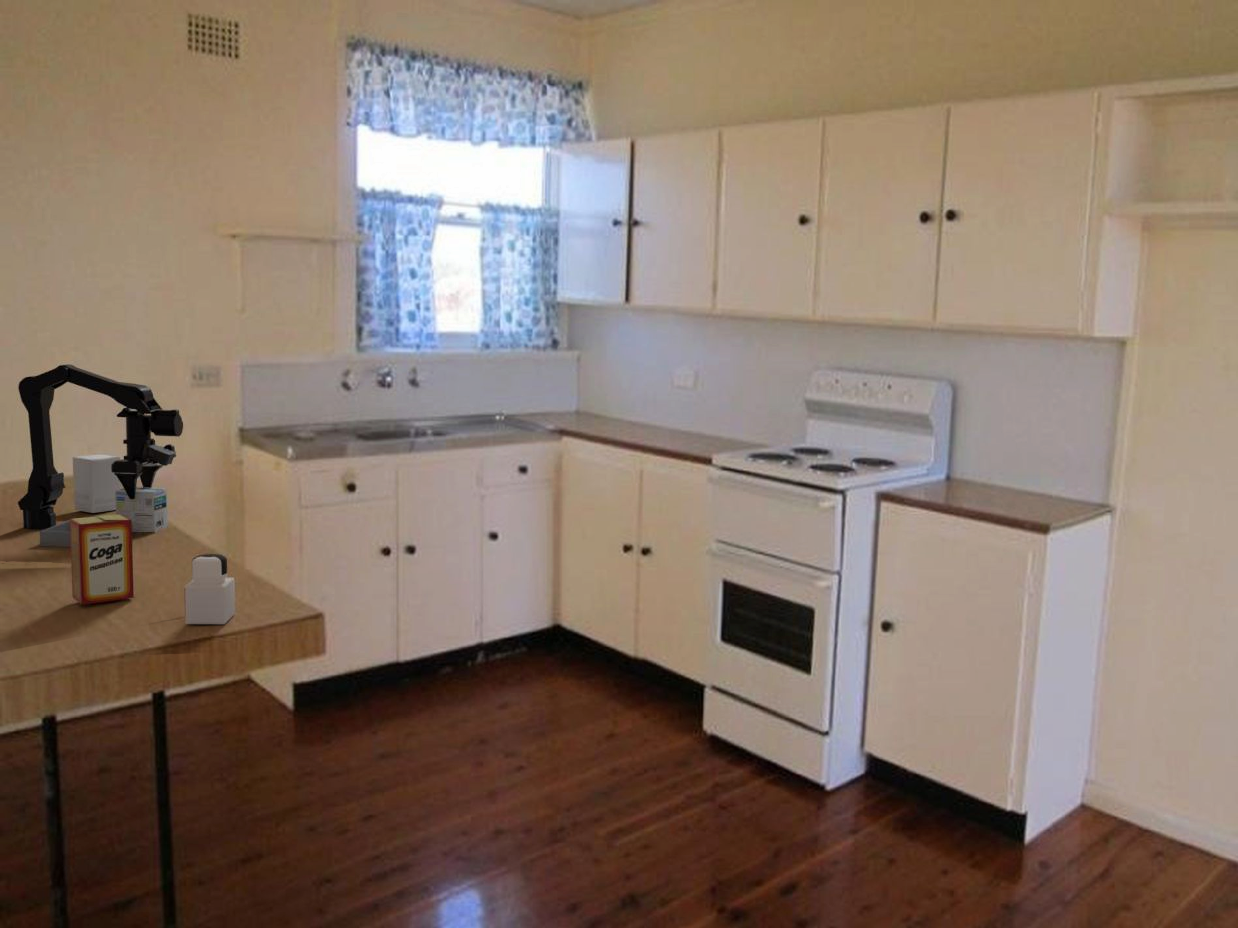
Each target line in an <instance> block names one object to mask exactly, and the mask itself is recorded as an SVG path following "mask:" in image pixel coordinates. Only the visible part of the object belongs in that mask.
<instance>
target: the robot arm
mask: <svg viewBox="0 0 1238 928" xmlns="http://www.w3.org/2000/svg"><path fill="white" fill-rule="evenodd" d="M67 383H69V384H73V385H76V386H79V387H82V388H84V389H87V390H90V391H93V392H96V393H99V394H102V395H104V396H108V397H110V398H111V399H113V400H114V401H115V402H116V403H118V404H120V405H122V406H123V408H122V410H121V411H120V412H119V413H117V414H116V417H117V418H125V435H126V436H125V437H126V438H125V439H123V440H122V441H123V443H122V444H123V445H125V444H126V455H124V456H123V459H120V460H117V461H115V462H114V463H113V464H112V465H111V471H112V472H113V473H114V475H116V476H117V478H118V479H119V481H120V482H121V486H122V487H123V488H124V489H125V491H126V493H127V495H128V497H129V498H130V499H135V494H136V487H137V483H138V479H140V482H141V485H142V487H143V488H153V484H154V481H155V477H156V475H157V472H158V471H159V470H161V469H162V468H163V467H165V466H168V465H172V463H173V461H174V458H176V457H177V454H176V453H177V451H175V450H176V449H175V445H173V444H170V443H168V444H166V445H164V446H163V445H157V444H156V440H155V439H154V438H152V433H153V435H154V436H156V437H174V438H175V437H177V438H179V437H181V436H182V434H183V431H184V422H183V420H182V419H183V418H182V416H181V414H180V409H163V408H162V407H161V405H160V403H158V402H157V399H156V398H155V396H154V394H153V391H152V389H151V388H150V387H149V386H147V385H143V384H138V383H130V382H124V381H123V382H122V381H118V380H115V379H111V378H109V377H106V376H103V375H100V374H97V373H95V372H92V371H91V372H90V371H88V370H85V369H83V368H79V367H76V366H75V365H73V364H69V363H68V364H60V365H58V366H56V367H55V368H52V369H50V370H47V371H45V372H42V373H40V374H38V375H30V376H26V377H23V378H22V379H21V380H20V381H19V382H18V386H17V387H18V388H17V389H18V393H19V397H20V401H21V403H22V405H23V406H24V408H25V410H26V411H27V414H28V417H27V418H28V425H29V436H30V437H29V439H30V449H31V461H32V470H31V472H30V475H29V478H28V484H27V493H25V494H24V495H23V497H21V498H20V499H19V500H18V502H17V505H18V507H19V510H20V511H22V519H23V520H22V524H23V529H27V530H45V529H47V528H50V527H53V526H55V525H57V520H56V518H57V516H56V515H57V514H56V512H55V510H54V506H56V504H57V502H58V499H59V498H60V497H61V496H62V495H63V493H64V489H66V486H65V482H64V478H65V474H64V472H58V470H57V469H56V468H55V464H54V453H53V452H54V451H53V450H54V449H53V442H52V441H53V440H52V439H53V438H52V429H51V428H52V427H51V418H50V415H51V414H50V409H51V407H52V404H53V401H54V398H55V397H54V396H55V390H57V389H58V388H60V387H63V386H64V385H66V384H67Z"/></svg>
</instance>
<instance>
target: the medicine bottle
mask: <svg viewBox="0 0 1238 928" xmlns="http://www.w3.org/2000/svg"><path fill="white" fill-rule="evenodd" d="M191 578H192V580H191V581H190V582H189V583H188V584H186V585H185V586H184V621H185V624H186V625H226V624H227V623H228V622H229V620H230V619H231V618H232V617H233V616H234V615H235V614H236V593H235V592H236V589H235V588H236V587H235V584H236V583H235V578H234V577H228V558H227V557H226V556H224V555H222V554H218V553H205V554H200V555H197V556H195V557H194V558H192V560H191Z"/></svg>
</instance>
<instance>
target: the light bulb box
mask: <svg viewBox="0 0 1238 928" xmlns="http://www.w3.org/2000/svg"><path fill="white" fill-rule="evenodd" d="M167 491H168V489H167V488H166V487H165V488H162V487H151V488H143V486H142V487H138V486H136V494H135V499H130V498H129V497H128V495H127V493H126V491H125V489H124V487H123V488H122V487H121V489H118V490H115V501H116V510H115V515H123V516H125V517H127V518H129V519H131V521H133V533H142V532H145V533H146V532H156V533H158V532H157V531H159V530H161V531H163V530H162V529H163V528H166V527H167V526H168V527H169V516H168V515H169V514H168V512H169V511H168V492H167ZM166 529H167V528H166ZM159 532H160V531H159ZM145 533H144V534H145ZM146 534H147V533H146Z"/></svg>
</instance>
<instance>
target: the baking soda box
mask: <svg viewBox="0 0 1238 928" xmlns="http://www.w3.org/2000/svg"><path fill="white" fill-rule="evenodd" d="M69 520H70V541H71V547H70V564H71V565H70V566H71V593H72V599H73V600H75V601H76V602H78V603H79V604H80V605H81V606H82V605H83V606H84V605H90V604H91V605H92V604H96V603H97V604H98V603H105V602H112V601H119V600H126V599H134V566H133V565H134V561H133V558H134V557H133V535H132V522H131V519H129V518H127V517H125V516H123V515H116V514H106V515H105V514H104V515H96V516H91V517H89V516H87V517H78V518H70V519H69Z"/></svg>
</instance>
